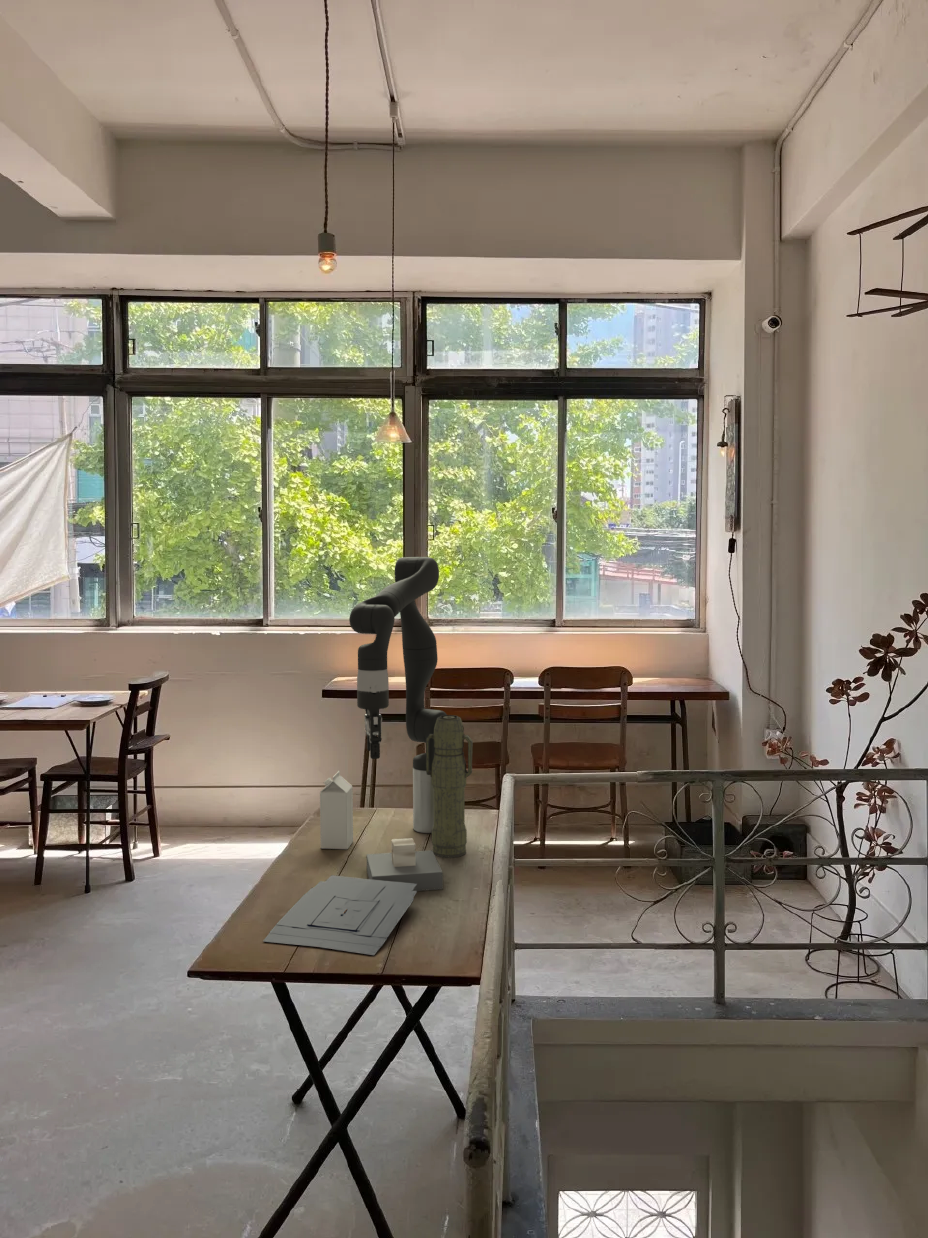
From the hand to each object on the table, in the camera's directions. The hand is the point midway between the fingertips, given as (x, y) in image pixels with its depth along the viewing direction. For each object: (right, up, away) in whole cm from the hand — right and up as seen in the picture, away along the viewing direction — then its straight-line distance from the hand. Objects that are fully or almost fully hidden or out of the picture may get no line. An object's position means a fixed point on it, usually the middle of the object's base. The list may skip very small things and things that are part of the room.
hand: (373, 754), depth 237 cm
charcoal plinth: (+8, -29, -5) cm, 30 cm away
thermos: (+18, -27, +15) cm, 36 cm away
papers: (-3, -31, -30) cm, 44 cm away
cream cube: (+8, -25, -6) cm, 26 cm away
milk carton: (-11, -27, +20) cm, 36 cm away
